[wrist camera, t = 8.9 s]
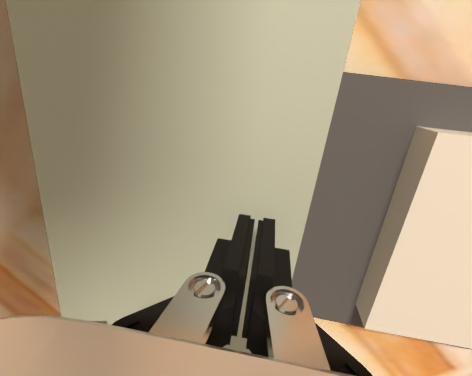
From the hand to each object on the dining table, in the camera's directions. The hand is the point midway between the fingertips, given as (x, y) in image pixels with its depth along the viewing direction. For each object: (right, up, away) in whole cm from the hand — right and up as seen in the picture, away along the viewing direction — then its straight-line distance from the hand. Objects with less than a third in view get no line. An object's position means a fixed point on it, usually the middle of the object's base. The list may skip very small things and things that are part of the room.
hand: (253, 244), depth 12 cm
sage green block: (-4, +2, +5) cm, 7 cm away
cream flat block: (+12, -1, +1) cm, 12 cm away
